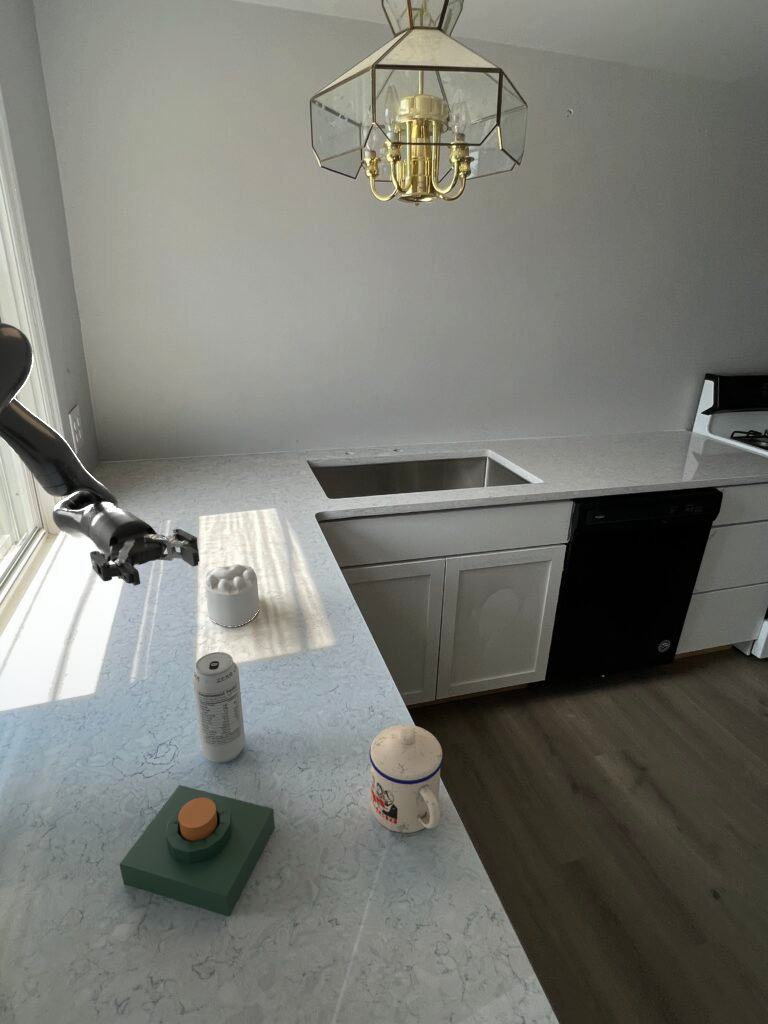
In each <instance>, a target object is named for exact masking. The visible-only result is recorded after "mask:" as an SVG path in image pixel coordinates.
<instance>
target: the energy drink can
mask: <svg viewBox="0 0 768 1024" xmlns="http://www.w3.org/2000/svg"><path fill="white" fill-rule="evenodd" d="M191 680H192V687H193V695H194V701H195V702H194V703H195V709H196V718H197V726H198V733H199V734H198V735H199V741H200V748H201V749H200V750H201V753H202V755H203V756H204V758H206V759H207V760H209V761H210V762H212V763H215V764H224V763H228V762H231V761H233V760H235V759H236V758H237V757H239V755H240V754H241V752H242V751H243V749H244V748H245V744H246V735H245V724H244V715H243V714H244V713H243V705H242V692H241V683H240V671H239V667H238V665H237V663H235V662H234V658H233V657H232V655H231V654H229V653H227V652H224V651H216V652H210V653H207V654H205V655H203V656H201V657H200V658H199V659H198V660H197V661H196V663H195V669H194V671H193V673H192V677H191Z"/></svg>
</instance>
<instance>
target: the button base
mask: <svg viewBox="0 0 768 1024" xmlns="http://www.w3.org/2000/svg"><path fill="white" fill-rule="evenodd" d="M197 798H208V799H210V800H212V801H213V802H214V803H215V806H216V813H217V826H216V828H215V830H214V832H213V833H212V834H211V835H210V836H208V837H207V838H205V839H203V840H199V841H189V840H186V839H185V838H184V837H183V836H182V834H181V830H180V824H179V813H180V811H181V809H182V808H183V806H184V805H185V804H187V803H188V802H189V801H191V800H193V799H197ZM274 812H275V811H274V808H273V807H268V806H264V805H262V804H261V805H260V804H256V803H252V802H248V801H245V800H241V799H236V798H233V797H229V796H224V795H221V794H217V793H213V792H209V791H204V790H201V789H197V788H193V787H190V786H185V785H181V784H179V785H178V786H177V787H176V788H175V790H174V791H173V793H172V794H171V795H170V796H169V798H168V799H167V800H166V801H165V803H164V804H163V806H162V807H161V808H160V810H159V811H158V813H156V815H155V816H154V818H153V819H152V820H151V821H150V823H149V824H148V825H147V826H146V828H145V829H144V831H143V832H142V833H141V835H140V836H139V837H138V839H137V840H136V841H135V842H134V844H133V845H132V847H131V848H130V849H129V851H128V852H127V853H126V854H125V856H124V857H123V859H121V861H120V862H119V868H120V874H121V877H122V882H123V885H125V886H128V887H132V888H134V889H138V890H142V891H145V892H147V893H151V894H154V895H156V896H157V895H158V896H160V897H164V898H167V899H170V900H173V901H177V902H180V903H183V904H185V905H186V904H187V905H190V906H193V907H197V908H199V909H204V910H207V911H209V912H212V913H216V914H219V915H221V916H225V917H228V918H229V917H230V916H231V914H232V912H233V910H234V908H235V907H236V905H237V902H238V900H239V899H240V897H241V895H242V893H243V891H244V889H245V888H246V885H247V883H248V882H249V879H250V878H251V875H252V874H253V872H254V869H255V868H256V865H257V864H258V862H259V860H260V858H261V856H262V854H263V852H264V850H265V848H266V846H267V844H268V842H269V840H270V839H271V836H272V834H273V833H274V830H275V829H276V826H275V825H276V824H275V823H276V822H275V813H274Z"/></svg>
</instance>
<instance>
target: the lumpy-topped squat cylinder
mask: <svg viewBox="0 0 768 1024" xmlns="http://www.w3.org/2000/svg"><path fill="white" fill-rule="evenodd" d="M203 582H204V592H205V602H206V609H207V616H208V615H209V617H208V619H209V618H210V619H211V620H213V621H215V622H216V623H218V624H221V625H225V626H231V627H234V628H236V627H235V626H239V625H242V624H245V623H246V622H248V621H249V620H251V619H252V618H253V617H254V616H255V614H256V613H257V612H258V610H259V609H260V599H259V598H260V597H259V585H258V583H259V582H258V577H257V574H256V572H255V570H254V568H252V567H251V566H249V565H244V564H239V563H237V564H233V565H228V566H227V565H226V566H225V565H224V566H218V567H216V568H213V569H210V570H209V571H207V572H206V573H205V574H204V579H203ZM210 619H209V620H210ZM211 620H210V621H211ZM216 623H215V624H216ZM245 625H246V624H245Z"/></svg>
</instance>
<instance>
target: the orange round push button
mask: <svg viewBox="0 0 768 1024" xmlns="http://www.w3.org/2000/svg"><path fill="white" fill-rule="evenodd" d="M179 824H180V830H181V834H182V836H183V837H184V838H185V839H186V840H189V841H199V840H203V839H205V838H207V837H208V836H210V835H211V834H212V833H213V832H214V830H215V828H216V826H217V813H216V806H215V803H214V802H213V801H212V800H210V799H208V798H197V799H193V800H191V801H189V802H188V803H187V804H185V805H184V806H183V808H182V809H181V811H180V813H179Z"/></svg>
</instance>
